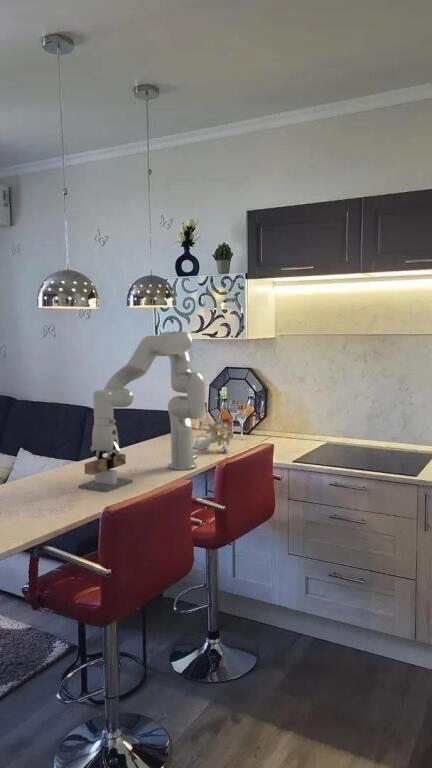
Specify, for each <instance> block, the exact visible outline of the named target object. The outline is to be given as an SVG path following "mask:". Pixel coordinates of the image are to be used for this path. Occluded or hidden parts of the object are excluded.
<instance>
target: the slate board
mask: <svg viewBox="0 0 432 768" xmlns="http://www.w3.org/2000/svg"><path fill="white" fill-rule="evenodd" d="M117 472H118V471H117V470H115V469H109V470H106V471H103V472H101V473H98V474H95V475H94V479H92V480H90V481H86V482H84V483H81V484H78V489H84V490H89V491H90V490H91V491H97V492H104V493H109V492H110V491H114V490H115V489H119V488H121V487H124V486H127V485H129V484H132V483H133V481H134V480H133V479H129V478H123V477H118V475H117V474H118V473H117Z"/></svg>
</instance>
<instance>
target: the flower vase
mask: <svg viewBox="0 0 432 768" xmlns="http://www.w3.org/2000/svg"><path fill="white" fill-rule="evenodd" d="M214 420H215V422H214V423H213V424H212V423H209V422H208V425H207V426H208V428H209V429H207V430H206V432H205V434H210V436H209V437H207V438H206V437H204V436H203V437H202V436H199V437H197V438H196V439H195V440H194V443H193V449H195V448H208V449H210V448H209V447H212V444H215V443H217V445H218V446H219V447H220V446H222V444H223V446H222V447H221V448H220V449H219V450H218V451H217V453H221V452H227V451H233V449H232V448H229V447H228V446H230V442H231V439H232V438H233V436H234V435H233V432H232V429H233V426H232V425H229V422H225V421H224V420H223V419H222V418H219V419H218V418H216V417H214ZM225 425H226V426H225ZM225 443H226V446H225Z"/></svg>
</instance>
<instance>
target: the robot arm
mask: <svg viewBox="0 0 432 768" xmlns="http://www.w3.org/2000/svg"><path fill="white" fill-rule="evenodd" d="M192 345H193V338H192V336H191V334H190V333H189V332H186V331H164V332H162V333H160V334H159V335H147V336H144V337H143V338H142V340H141V341H140V342H139V344H138V345H137V347H136V349H135V351H134V352H133V354H132V355H131V357H130V359H129V360H128V362H127V363H126V364H125V365H123V366H122V367H121V368H119V370H118V371H116V372H115V373H114V374H113V375H112V376H111V377H110V378H109V379H108V381H107V382H106V385H105V386H104V388H103V389H99V390H98V389H97V390H95V391H94V392H93V393H92V395H93V396H92V397H93V398H92V399H93V419H94V420H93V423H94V425H93V427H92V433H91V435H92V436H91V444H92V445H91V446H90V451H91V452H92V453H94V455H95V458H96V460H98V459H101V458H104V456H103V455H104V452H106V454H107V456H108V459H107V469H109V470H113V469H115V468H114V458H115V456H116V455H117V454H118V453H119V454H120V452H121V450H120V448H119V447H120V446H119V445H120V443H119V442H120V441H119V434H118V433H119V432H118V429H117V425H116V419H115V418H114V416H115V415H114V414H115V413H114V408H127V407H129V406H131V405H132V403H133V402H134V394H133V392H132V391H131V390H130V389H127V388H125V387H126V386H127V385H129V384H130V383H131V382H133V381H135V380H137V379H140V378H141V377H144V376H145V375H147V372H148V371H149V369H150V368H151V366H152V364H153V363H154V360H156V358H157V357H168V358H169V362H170V385H171V389H172V390H173V391H174V392H176V393H181V394H186V395H175V396H173V397H171V398H170V400H169V401H168V405H167V411H168V415H169V421H170V447H171V448H170V449H171V451H170V453H171V454H170V455H171V462H170V463H168V464H167V466H168V469H171V470H176V471H186V470H192V468H193V469H196V468H197V463H196V462H194V461H195V460H197V459H198V454H194V443H193V441H194V440H193V436H194V434H193V430H194V429H193V424H192V420H199V419H200V418H201V417H203V415H204V413H205V410H206V383H205V379H204V376H202V374H201V373H199V372H198V371H193V370H191V359H190V356H189V353H188V351H189V350H190V348H192ZM195 467H196V468H195Z"/></svg>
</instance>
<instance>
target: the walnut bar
mask: <svg viewBox="0 0 432 768" xmlns="http://www.w3.org/2000/svg"><path fill="white" fill-rule="evenodd" d="M103 457H104V456H103ZM107 459H108V455H107V456H105V457H104V458H101V459H95V460H92V461H89V462H85V463H84V467H83V468H84V475H89V476H95V474H98V473H101V472H103V471H106V470H110V469H107ZM126 463H127V462H126V453H120V452H119V453H118V454H117V455H116V456H115V458H114V468H113V469H115V468H118V467H120V466H123V465H126Z"/></svg>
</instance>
